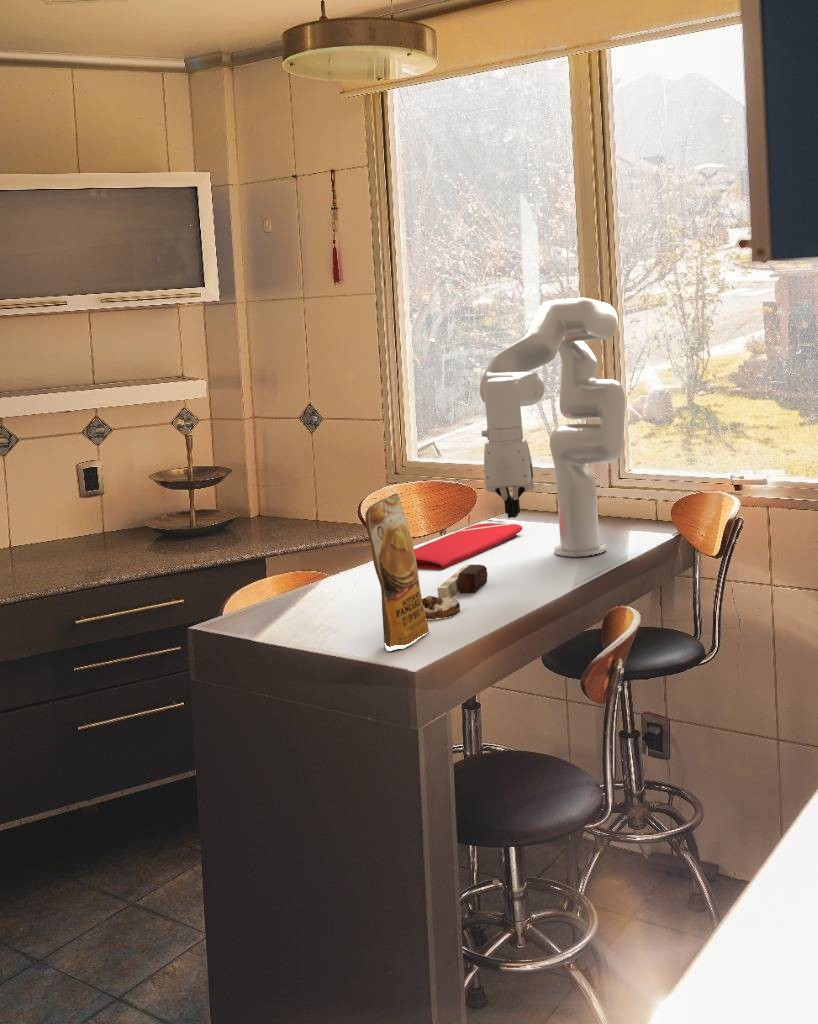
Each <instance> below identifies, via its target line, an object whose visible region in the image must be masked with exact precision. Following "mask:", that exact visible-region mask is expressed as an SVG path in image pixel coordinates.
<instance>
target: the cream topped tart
mask: <svg viewBox="0 0 818 1024" xmlns="http://www.w3.org/2000/svg"><path fill="white" fill-rule="evenodd" d="M422 603H423V607H424V611H425V615H426V619H427V620H428V619H436V618H442V619H445V618H444V617H448V618H450V617H449V616H452V617H454V616H455V615H457V613H458V614H459V613H461V609H460V608H461V605H460V602H459V601H458V599H455V598H454V597H452V598H450V597H439V598H438V596H434V595H428V596H426V597H423V598H422ZM436 620H437V619H436ZM428 621H429V620H428Z"/></svg>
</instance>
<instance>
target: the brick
mask: <svg viewBox="0 0 818 1024" xmlns="http://www.w3.org/2000/svg"><path fill="white" fill-rule="evenodd" d="M487 582H488V568H487V567H486V565H484V564H474V565H469V566H468V567H466V568H465V569H464V570H462V571H461V572H460V573H459V574H458V585H459V592H458V593H459V594H475V593H476V592H478V591H480V590H481V588H482V587H483V586H485V584H487Z"/></svg>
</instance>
